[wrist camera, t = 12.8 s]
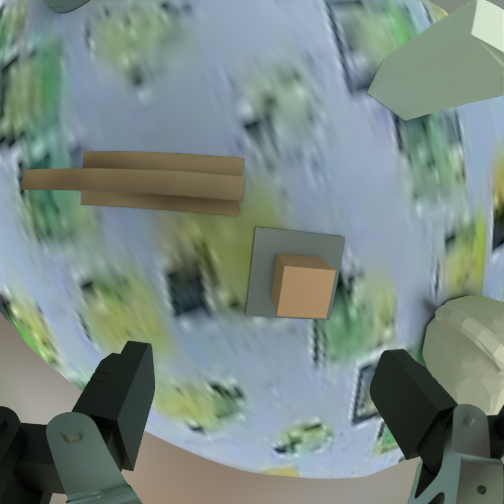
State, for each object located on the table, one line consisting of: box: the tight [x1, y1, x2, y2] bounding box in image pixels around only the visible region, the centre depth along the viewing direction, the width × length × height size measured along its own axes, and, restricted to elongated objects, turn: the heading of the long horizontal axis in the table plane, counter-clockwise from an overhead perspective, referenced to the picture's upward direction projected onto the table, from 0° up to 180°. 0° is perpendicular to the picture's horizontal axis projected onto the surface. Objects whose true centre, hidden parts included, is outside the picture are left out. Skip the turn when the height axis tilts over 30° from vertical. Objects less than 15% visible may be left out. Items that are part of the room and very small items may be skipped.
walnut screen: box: [22, 151, 245, 216], centre depth 24 cm, size 6×18×12 cm, turn 84°
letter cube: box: [271, 253, 336, 318], centre depth 30 cm, size 5×5×5 cm
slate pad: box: [246, 226, 345, 320], centre depth 33 cm, size 10×10×1 cm
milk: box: [367, 0, 504, 121], centre depth 18 cm, size 6×6×22 cm
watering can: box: [422, 296, 504, 415], centre depth 28 cm, size 16×27×19 cm, turn 50°
